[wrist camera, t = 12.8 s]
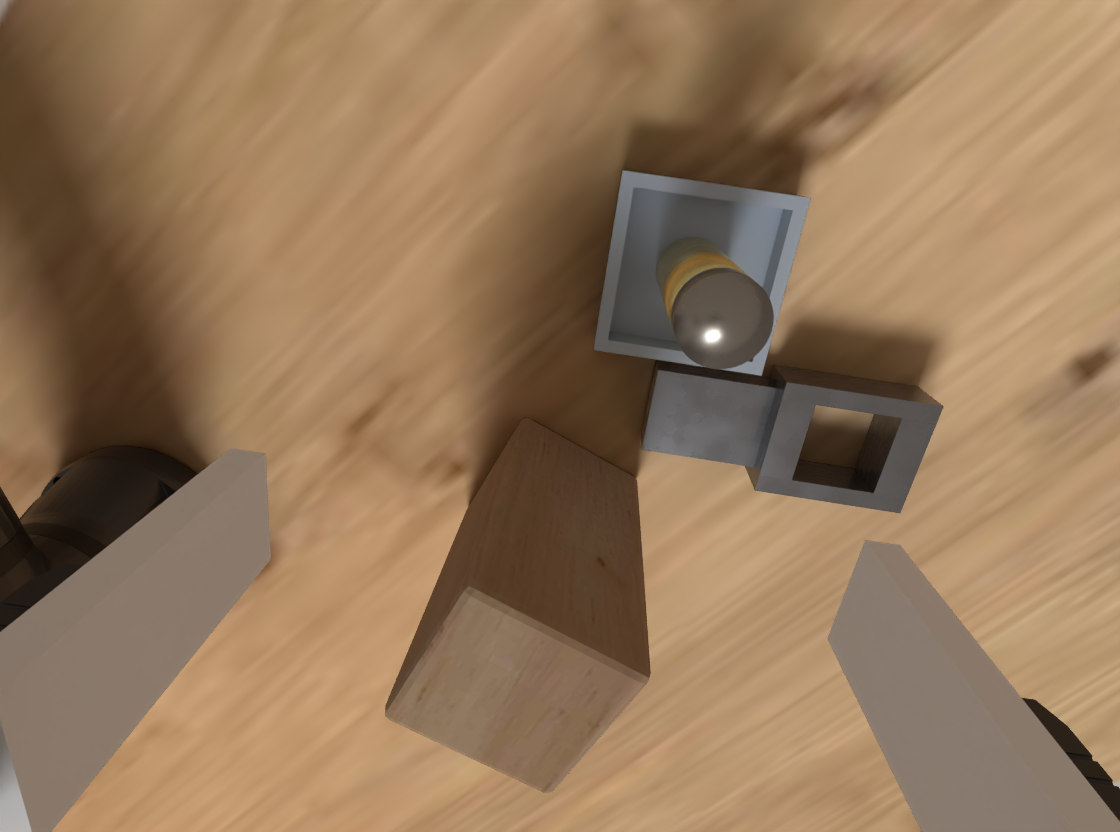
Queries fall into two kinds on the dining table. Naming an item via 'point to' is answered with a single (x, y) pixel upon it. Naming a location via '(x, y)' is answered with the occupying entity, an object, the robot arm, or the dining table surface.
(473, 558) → the wooden block
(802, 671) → the dining table surface
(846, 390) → the bar
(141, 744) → the dining table surface
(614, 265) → the tray
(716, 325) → the pin
